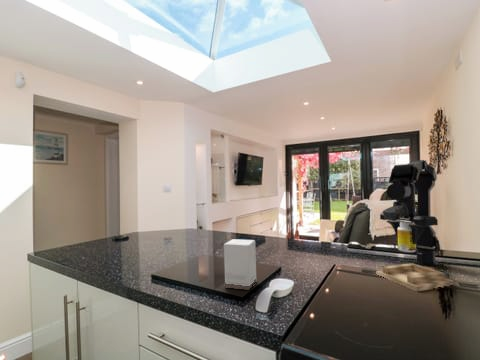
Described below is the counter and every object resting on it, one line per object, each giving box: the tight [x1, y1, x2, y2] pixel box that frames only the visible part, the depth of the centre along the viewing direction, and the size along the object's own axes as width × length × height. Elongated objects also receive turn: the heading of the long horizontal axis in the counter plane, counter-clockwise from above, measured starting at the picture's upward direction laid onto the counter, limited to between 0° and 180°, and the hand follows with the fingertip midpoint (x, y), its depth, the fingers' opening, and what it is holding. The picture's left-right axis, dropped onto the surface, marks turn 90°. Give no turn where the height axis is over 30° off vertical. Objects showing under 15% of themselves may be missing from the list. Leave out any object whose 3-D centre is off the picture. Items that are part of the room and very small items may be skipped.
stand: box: [375, 262, 454, 292], centre depth 90 cm, size 16×16×4 cm
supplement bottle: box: [397, 221, 417, 253], centre depth 92 cm, size 6×6×10 cm
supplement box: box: [223, 238, 257, 286], centre depth 89 cm, size 9×9×15 cm
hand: (407, 242), depth 92 cm, fingers closed on supplement bottle, 6 cm apart
